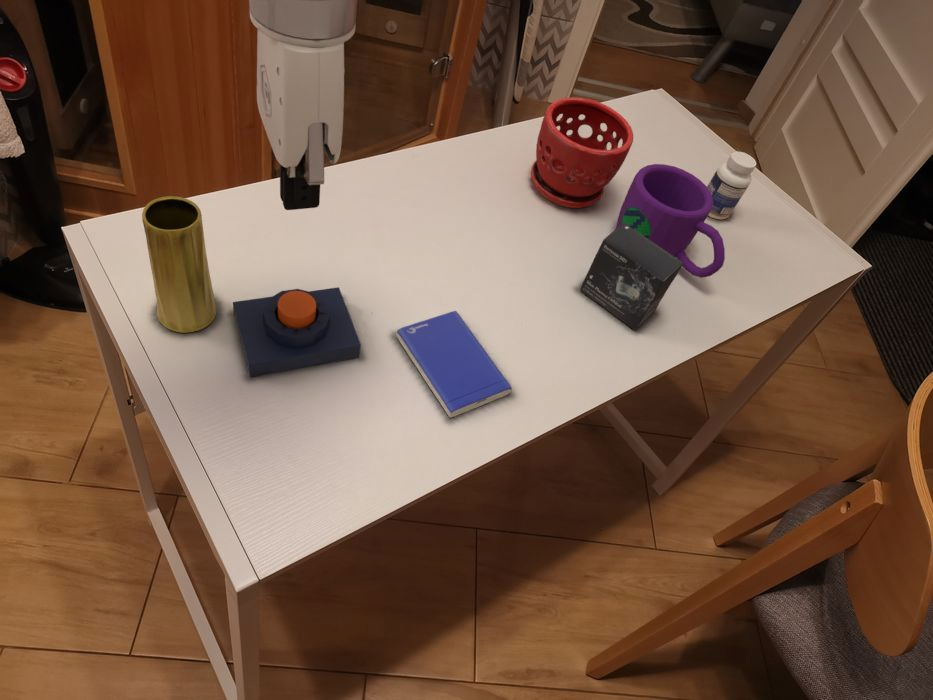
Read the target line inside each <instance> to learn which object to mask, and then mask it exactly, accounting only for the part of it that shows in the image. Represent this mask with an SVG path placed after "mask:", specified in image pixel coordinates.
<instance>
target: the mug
mask: <svg viewBox="0 0 933 700" xmlns="http://www.w3.org/2000/svg"><path fill="white" fill-rule="evenodd" d="M707 186H708V185H706V184H705V183H704V182H703V181H702V180H701V179H700V178H698V177H696V176H695V175H694V174H692V173H691V172H688V171H687V170H685V169H682V168H680V167H677V166H675V165H674V166H673V165H669V164H663V163H653V164H648V165H646V166H643V167H642V168H640V169H639V170H638V171H637V172H636V174H635V176H634V177H633V180H632V182H631V184H630V186H629V188H628V189H627V193H626V195H625V197H624V199H623V202H622V204H621V207H620V210H619V213H618V217H617V221H616V224H615V230H616V229H617V228H618V227H619V226H620V225H622V224H623V223H626V224H628V225H629V226H630V227H631V228H632V229H634V230H635V231H637V232H638V233H640V234H641V235H643V236H644V237H646V238H647V239H649V240H650V241H651V242H653V243H655V244H656V245H657V246H659V247H660V248H662V249H663V250H665V251H666V252H668V253H669V254H671V255H672V256H673V257H675V258H676V259H679V260H680V261H682V262H683V263H684V264H683V266H682V268H683V269H684V270H685V271H686V272H688V273H689V274H690V275H692V276H694V277H697V278H700V279H702V278H707V277H711V276H713V275H714V274H717V272H719V271H720V270H721V268H722V267H724V263H725V259H726V256H725V255H726V254H725V253H726V250H725V249H726V248H725V243H724V238H723V237H722V235H721V234H720V232H719V230H718V229H716V228H715V227H714V226H712V225H711V224H708V223H706V220H707V218H708V217H709V216H708V215H709V213H710V211H711V210H712V208H713V197H712V194H711V192H710V191H709V189H708V188H707ZM698 232H699V233H700V234H703V235H705V236H707V237H708V238H709V239H710V241H711V243H712V247H713V261H712V262H711V263H709V264H708V265H707V266H705V267H700V266H698V265H697V264H695V263H694V262H693V261H692V260H691V259H690V258H689V257H688V255H687V253H686V251H685V250H686V249H687V248H688V247H689V246H690V244H691V242H692V241H693V239H694V238H695V237H696V236H697V233H698Z"/></svg>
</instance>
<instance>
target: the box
mask: <svg viewBox="0 0 933 700" xmlns="http://www.w3.org/2000/svg"><path fill="white" fill-rule="evenodd" d="M683 264H684V263H683V262H682V261H680V260H679V259H677V258H675V257H673V256H672V255H671V254H669V253H668V252H666V251H665V250H663V249H662V248H660V247H659V246H657V245H656V244H655V243H653V242H651V241H650V240H649V239H647V238H646V237H644V236H643V235H641V234H640V233H638V232H637V231H635V230H634V229H632V228H631V227H630V226H629V225H628V224H626V223H623V224H622V225H620V226H619V227H618V228H617V229H616V228H615V229H614V230H613V231H612V232H611V233H609V234H608V235H606V237H605V238H604V239H603V240H602V241H601V244H600V246H599V247H598V250H597V253H595V256H594V258H593V260H592V262H591V265H590V267H589V269H588V271H587V273H586V275H585V277H584V279H583V281H582V284H581V286H580V287H579V291H580V292H582V293H583V294H585V295H586V296H587V297H589V298H590V299H592V300H593V302H596V304H598V305H600V306H601V307H603V308H604V309H605V310H606V311H608V312H609V313H610V314H612V315H613V316H615V317H616V318H618V319H619V320H620V321H621V322H623V323H624V324H625V325H626V326H628V327H630V328H631V329H632V330H634V331H636V330H637V329H638V328H639V327H640V326H641V325H642V324H643V323H644V322H645V321H646V320H647V319H648V318H649V317H650V316H652V315H653V314H654V312H655V311H656V310H657V308H658V306H659V304H660V303H661V301H662V299H663V298H664V296H665V294H666V293H667V291H668V290H669V288H670V286H671V285H672V283H673V282H674V280H675V279H676V277H677V276H678V273H680V270H681V269H682V268H683Z"/></svg>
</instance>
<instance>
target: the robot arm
mask: <svg viewBox="0 0 933 700" xmlns="http://www.w3.org/2000/svg"><path fill="white" fill-rule="evenodd" d="M248 6H249V19H250V21H251V24H253V26H254V27H255V28H256V29H257V36H256V38H257V43H256V44H257V46H256V103H257V109H258V112H259V116H260V119H261V122H262V124H263V125H262V126H263V127H264V130H265V133H266V136H267V139H268V142H269V144H270V147H271V150H272V152H273V155H274V157H275V159H276V161H277V162H278V163H279V197H280V200H281V202H282V206H283V208H284V210H286V211H294V210H295V211H296V210H305V209H315V208H319V206H320V200H321V199H320V198H321V185H325V154H326V157H327V160H328V161H329V163H330V164H332V165H335V164H336V163H337V162H338V161H339V159H340V157H341V150H342V143H343V133H344V132H343V131H344V113H345V110H344V108H345V107H344V106H345V73H346V69H345V42H347V41H349V40H351V38H352V37H353V36H354V35H355V32H356V26H357V25H356V24H357V13H358V12H357V11H358V0H248Z"/></svg>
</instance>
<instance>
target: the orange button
mask: <svg viewBox="0 0 933 700" xmlns="http://www.w3.org/2000/svg"><path fill="white" fill-rule="evenodd" d="M315 317H316V302H315V300H314V298H313V297H312V296H311V295H309V294H308V293H305V292H302V291H291V292H288V293H285V294H284V295H282V296H281V297H280V299H279V301H278V318H279V320H280V322H281V323H282V324H283V325H285V326H287V327H289V328H293V329H300V328H306V327H308V326H310V325H311V324H312V323H313V322H314V320H315Z"/></svg>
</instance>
